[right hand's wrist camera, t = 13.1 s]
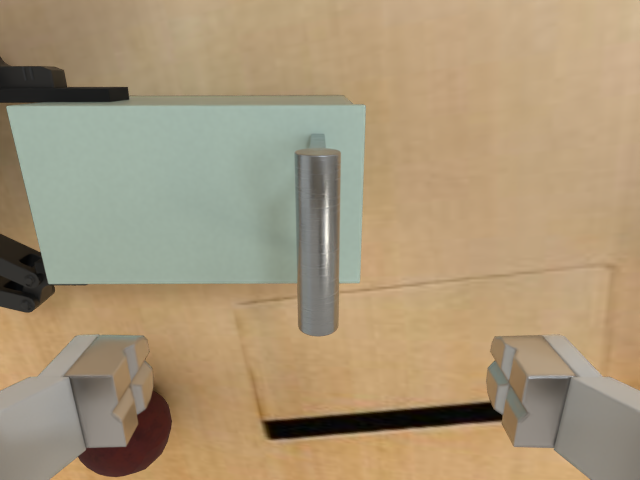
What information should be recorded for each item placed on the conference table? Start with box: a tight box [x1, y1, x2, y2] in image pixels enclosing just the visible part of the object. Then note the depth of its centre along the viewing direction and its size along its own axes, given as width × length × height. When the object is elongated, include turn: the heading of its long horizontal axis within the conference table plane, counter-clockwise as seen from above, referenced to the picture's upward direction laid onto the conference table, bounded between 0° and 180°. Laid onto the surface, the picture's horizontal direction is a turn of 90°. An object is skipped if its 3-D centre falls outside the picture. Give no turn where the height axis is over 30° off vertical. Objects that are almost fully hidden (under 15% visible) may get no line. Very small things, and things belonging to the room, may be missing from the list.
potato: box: [78, 391, 172, 477], centre depth 38 cm, size 7×8×7 cm
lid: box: [6, 104, 366, 336], centre depth 21 cm, size 18×10×8 cm, turn 90°
